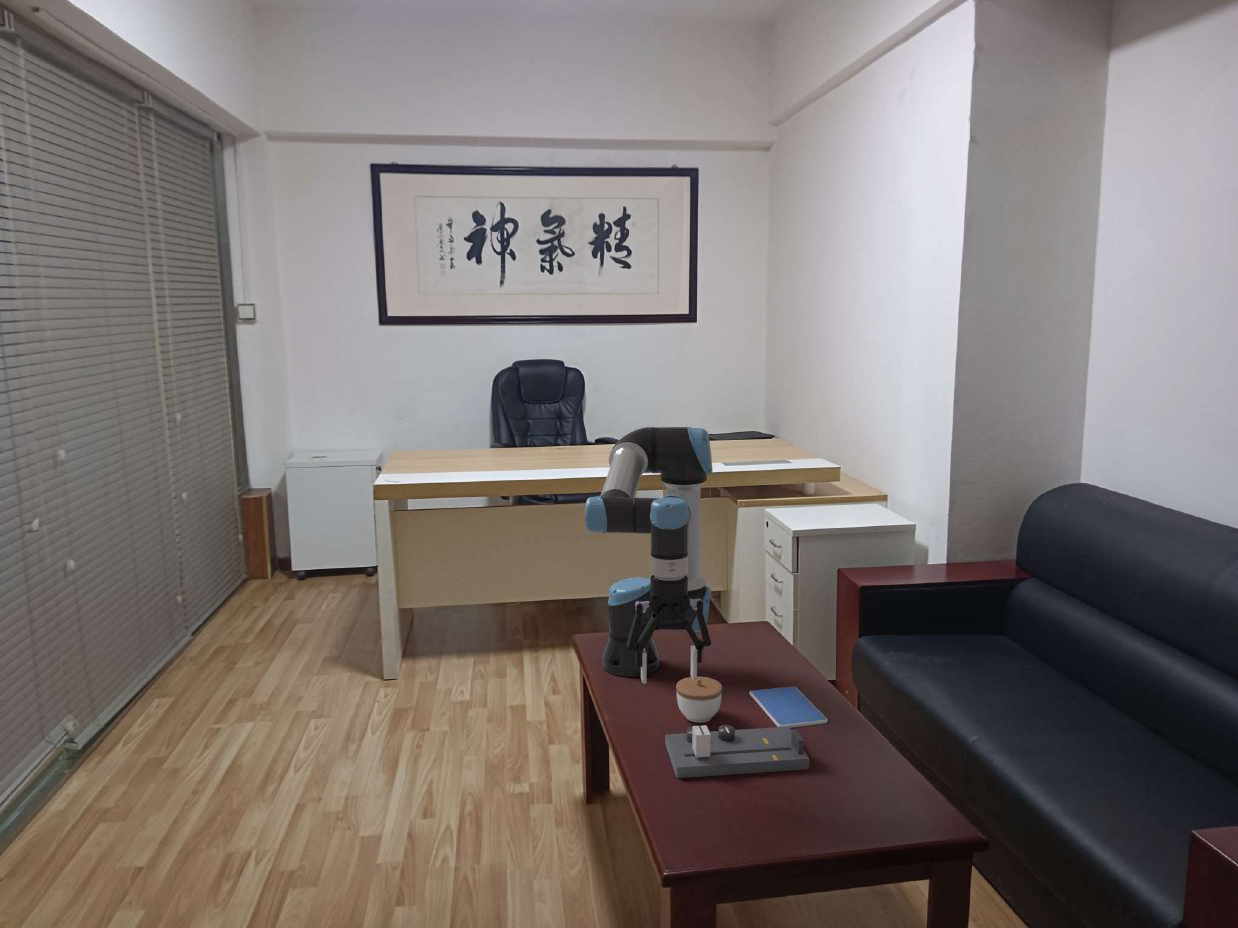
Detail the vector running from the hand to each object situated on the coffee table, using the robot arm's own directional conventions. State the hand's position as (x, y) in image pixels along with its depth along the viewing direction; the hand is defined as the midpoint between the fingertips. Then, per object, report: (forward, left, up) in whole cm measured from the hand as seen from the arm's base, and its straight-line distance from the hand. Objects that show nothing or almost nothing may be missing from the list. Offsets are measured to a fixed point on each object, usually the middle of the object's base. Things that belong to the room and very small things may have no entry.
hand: (668, 679), depth 184 cm
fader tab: (0, +7, -17) cm, 18 cm away
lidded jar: (-22, +11, -20) cm, 31 cm away
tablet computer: (-24, +33, -21) cm, 45 cm away
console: (-3, +15, -20) cm, 25 cm away
